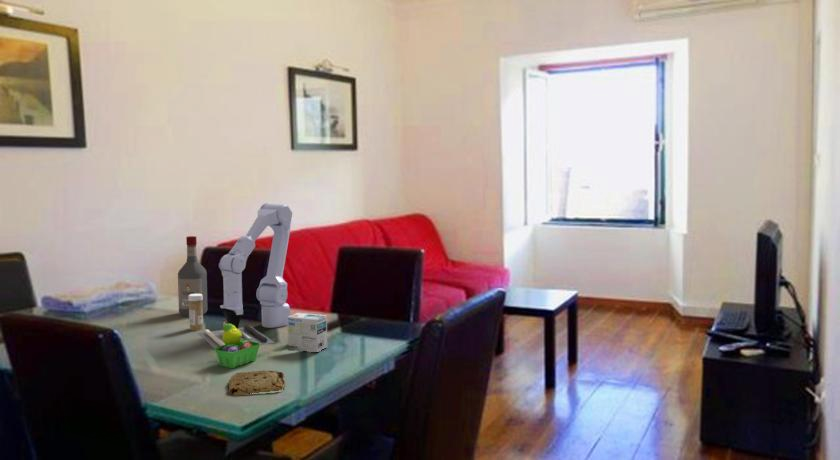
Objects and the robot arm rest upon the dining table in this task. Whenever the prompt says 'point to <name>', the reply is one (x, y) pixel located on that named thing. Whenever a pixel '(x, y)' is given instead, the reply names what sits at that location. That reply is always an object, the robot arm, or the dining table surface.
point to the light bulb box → (307, 332)
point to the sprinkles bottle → (195, 312)
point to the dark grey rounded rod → (255, 333)
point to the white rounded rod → (214, 337)
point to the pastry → (256, 382)
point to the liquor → (191, 279)
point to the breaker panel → (245, 336)
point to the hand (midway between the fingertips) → (233, 332)
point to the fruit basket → (235, 348)
